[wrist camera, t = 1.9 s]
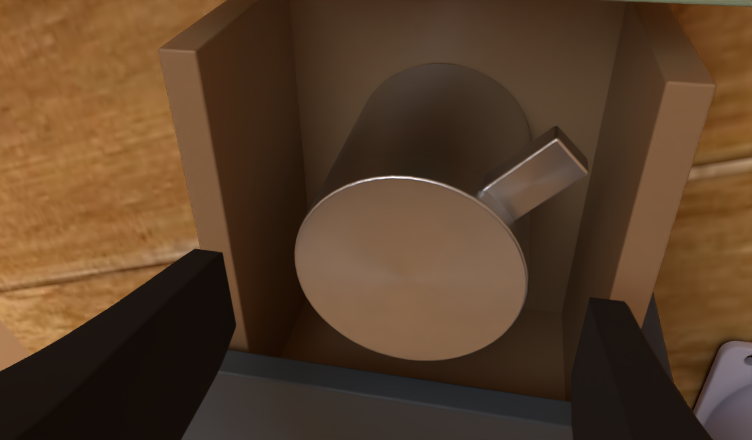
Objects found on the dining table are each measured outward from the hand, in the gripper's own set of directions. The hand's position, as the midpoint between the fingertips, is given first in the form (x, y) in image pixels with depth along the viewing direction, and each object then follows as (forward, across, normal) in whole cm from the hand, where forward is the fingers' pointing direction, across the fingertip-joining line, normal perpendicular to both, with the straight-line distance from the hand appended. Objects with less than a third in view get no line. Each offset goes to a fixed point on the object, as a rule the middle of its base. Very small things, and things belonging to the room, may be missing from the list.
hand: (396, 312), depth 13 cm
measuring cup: (+7, 0, 0) cm, 7 cm away
